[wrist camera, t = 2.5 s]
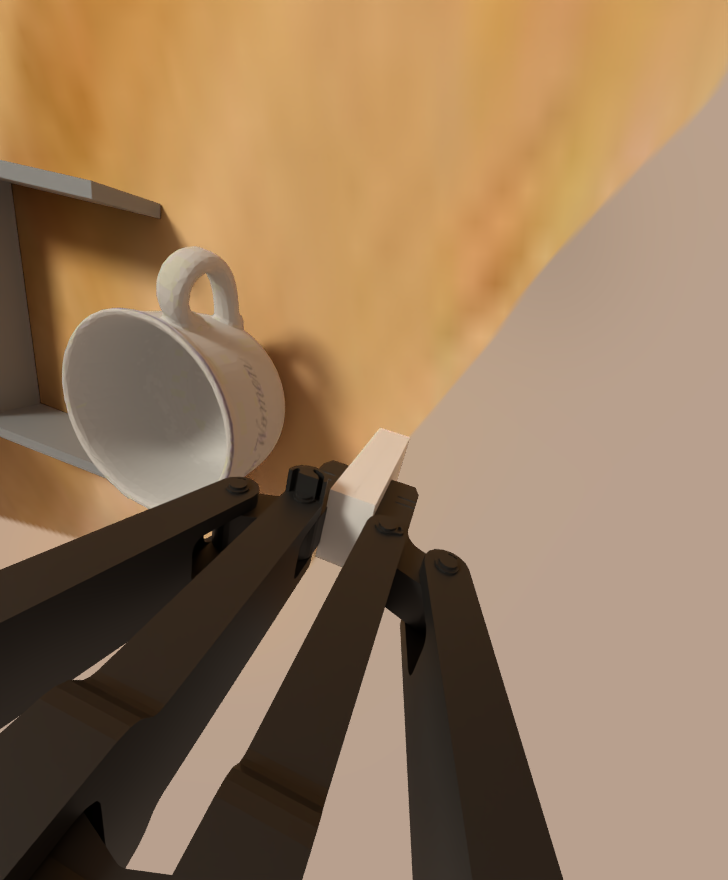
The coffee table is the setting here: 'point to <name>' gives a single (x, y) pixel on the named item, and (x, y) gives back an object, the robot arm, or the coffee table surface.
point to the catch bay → (8, 328)
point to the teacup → (173, 388)
